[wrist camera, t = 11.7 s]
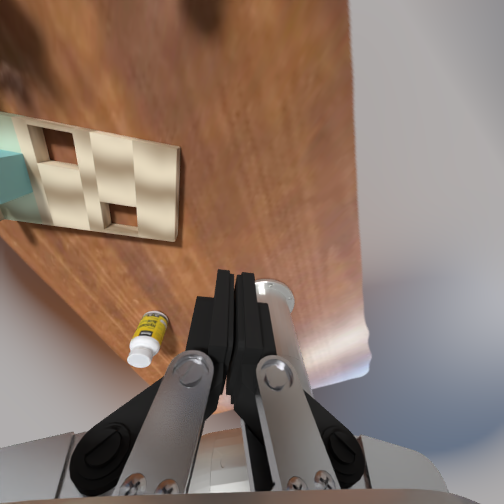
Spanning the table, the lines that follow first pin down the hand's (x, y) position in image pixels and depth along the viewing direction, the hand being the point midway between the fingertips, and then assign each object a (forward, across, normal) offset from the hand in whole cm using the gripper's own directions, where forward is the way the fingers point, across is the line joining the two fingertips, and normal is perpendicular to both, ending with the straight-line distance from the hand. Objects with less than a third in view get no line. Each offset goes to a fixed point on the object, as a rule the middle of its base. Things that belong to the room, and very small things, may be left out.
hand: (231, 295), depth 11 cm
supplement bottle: (+27, +12, +33) cm, 44 cm away
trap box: (+27, +20, +5) cm, 34 cm away
